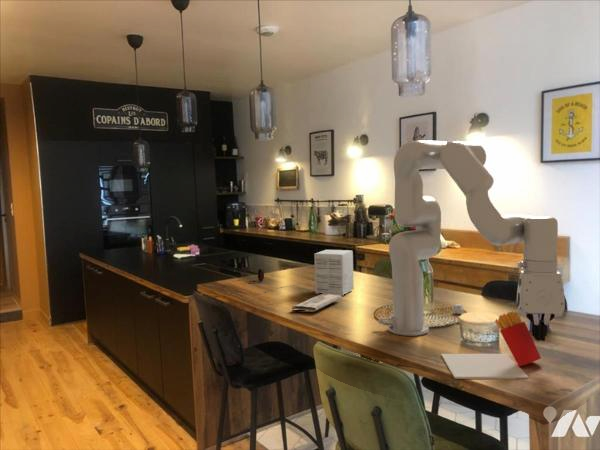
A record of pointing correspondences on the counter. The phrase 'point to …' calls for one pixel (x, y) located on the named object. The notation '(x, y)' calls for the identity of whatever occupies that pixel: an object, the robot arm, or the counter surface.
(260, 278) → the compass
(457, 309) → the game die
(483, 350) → the counter surface
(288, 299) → the counter surface
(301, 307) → the newspaper
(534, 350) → the french fries
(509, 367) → the mat
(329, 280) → the supplement box
